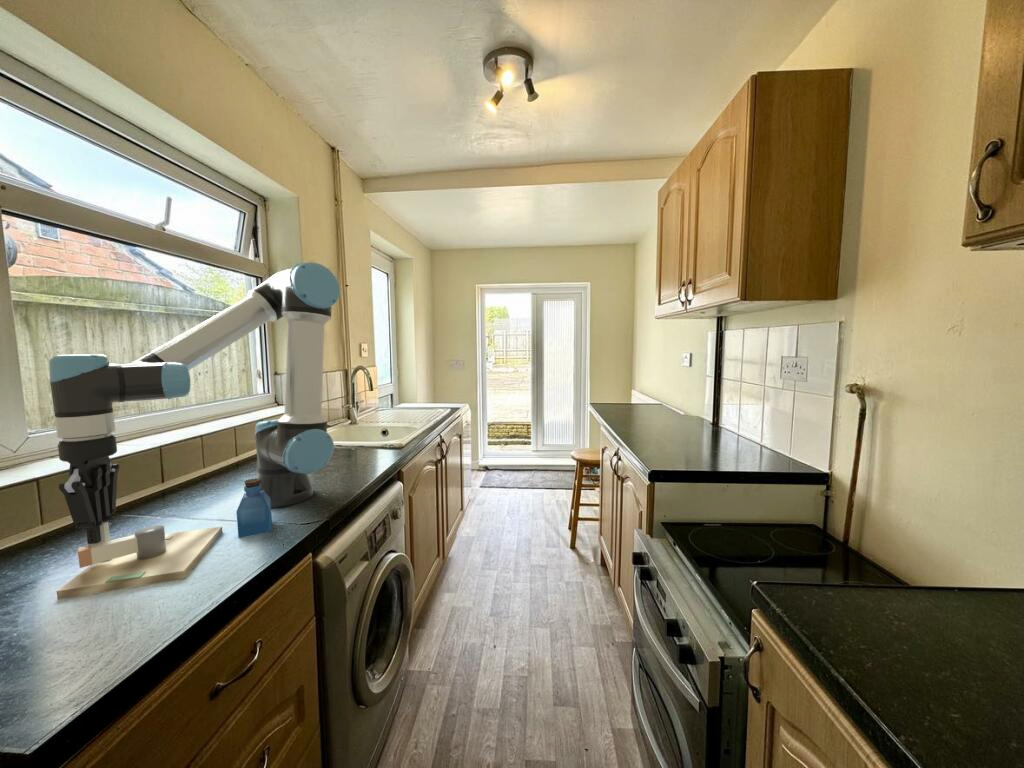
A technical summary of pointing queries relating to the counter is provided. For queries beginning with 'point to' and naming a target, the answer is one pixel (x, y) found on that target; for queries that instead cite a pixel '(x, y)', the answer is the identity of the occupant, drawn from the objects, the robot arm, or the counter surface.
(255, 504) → the perfume bottle
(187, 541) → the board
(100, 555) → the hammer
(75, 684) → the counter surface
